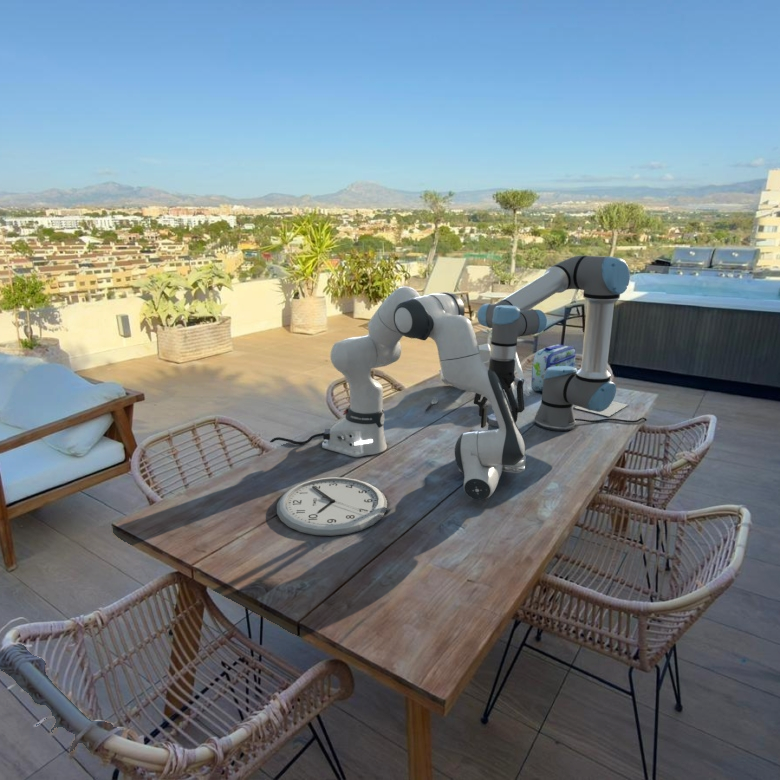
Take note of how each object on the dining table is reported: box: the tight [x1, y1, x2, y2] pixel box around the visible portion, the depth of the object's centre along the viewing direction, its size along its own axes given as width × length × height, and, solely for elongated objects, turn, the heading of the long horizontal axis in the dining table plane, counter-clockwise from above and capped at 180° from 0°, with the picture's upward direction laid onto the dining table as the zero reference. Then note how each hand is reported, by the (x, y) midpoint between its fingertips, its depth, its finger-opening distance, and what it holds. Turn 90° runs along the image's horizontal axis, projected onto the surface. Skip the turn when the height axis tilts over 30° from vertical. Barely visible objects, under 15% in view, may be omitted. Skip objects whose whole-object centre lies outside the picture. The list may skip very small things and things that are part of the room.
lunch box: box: [530, 344, 577, 392], centre depth 247 cm, size 26×11×21 cm, turn 134°
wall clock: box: [276, 476, 388, 537], centre depth 142 cm, size 30×2×30 cm
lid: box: [486, 413, 499, 427], centre depth 162 cm, size 6×6×2 cm
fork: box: [425, 396, 439, 412], centre depth 222 cm, size 3×16×2 cm, turn 160°
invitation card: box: [573, 400, 629, 418], centre depth 226 cm, size 21×1×15 cm
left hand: (495, 448), depth 165 cm, fingers closed on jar, 5 cm apart
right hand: (496, 429), depth 163 cm, fingers open, 8 cm apart
